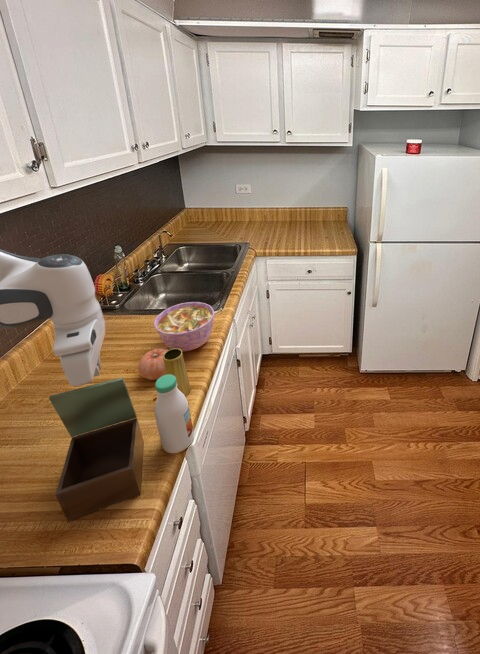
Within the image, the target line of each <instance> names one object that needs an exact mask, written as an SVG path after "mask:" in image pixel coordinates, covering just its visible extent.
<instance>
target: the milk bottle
mask: <svg viewBox="0 0 480 654" xmlns="http://www.w3.org/2000/svg"><path fill="white" fill-rule="evenodd" d="M154 387H155V390H156V393H157V398H156V401H155V404H154V418H155V423H156V427H157V432H158V435H159V439H160V443H161V447H162V449H163V450H164V451H165V452H166V453H169V454H178V453H181V452H183V451H185V450H186V449H188V447H189V446H190V445H191V444H192V442H193V440H194V437H195V433H194V426H193V421H192V415H191V411H190V406H189V403H188V399H187V396H184V394H183V393H182V392H181V391H180V390H179V389H178V388H177V380H176V377H175V376H174V375H164V376H162V377H160V378H159V379H156V381H155V383H154Z"/></svg>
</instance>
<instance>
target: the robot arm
mask: <svg viewBox="0 0 480 654" xmlns="http://www.w3.org/2000/svg"><path fill="white" fill-rule="evenodd" d="M49 319H50V320H51V321H52V324H53V327H54V328H53V333H54V340H53V347H52V351H53V355H54V356H55V357H59V361H60V365H61V368H62V371H63V373H64V376H65V378H66V379H67V381H68V383H69V385H70V386H72V387H75V388H76V387H80V386H85V385H87V384H91V383H92V382H93V381H94V378H95V377H99V376H100V374H101V368H102V363H101V351H102V347H103V343H104V339H105V336H106V321H105V317H104V314H103V311H102V307H101V304H100V302H99V301H98V300H97V298H96V287H95V284H94V280H93V279H92V275H91V273H90V271H89V268H88V266H87V264H86V263H85V262H84V261H83V259H81V258H80V257H79V256H76V255H73V254H63V253H61V254H53V255H47V256H45V257H42V258H38V257H30V256H25V255H19V254H16V253H12V252H10V251H7V250H4V249H1V248H0V328H3V329H11V330H12V329H22V328H26V327H29V326H32V325H37V324H39V323H42V322H45V321H47V320H49Z"/></svg>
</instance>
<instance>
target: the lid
mask: <svg viewBox="0 0 480 654" xmlns="http://www.w3.org/2000/svg"><path fill="white" fill-rule="evenodd" d="M48 399H49V401H50V403H51V404H52V406H53V408H54V410H55V412H56V413H57V415H58V416H59V419H60V420H61V422H62V423H63V425H64V427H65V429H66V431H67V432H68V433H69V436H70V437H71V438H72V437H75V436H78V435H81V434H84V433H88V432H91V431H95V430H98V429H101V428H105V427H108V426H111V425H115V424H118V423H121V422H125V421H128V420H131V419H135V418H137V419H138V415H137V411H136V408H135V406H134V404H133V401H132V398H131V396H130V393H129V390H128V386H127V385H126V382H125V379H124V377H118V378H115V379H111V380H107V381H103V382H99V383H95V384H91V385H87V386H84V387H83V386H82V387H79V388H75V389H72V390H68V391H64V392H59V393H56V394H51V395H49V397H48Z"/></svg>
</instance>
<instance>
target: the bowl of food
mask: <svg viewBox="0 0 480 654" xmlns="http://www.w3.org/2000/svg"><path fill="white" fill-rule="evenodd" d="M214 318H215V311H214V308H213V307H212V306H211V305H210V304H207V303H205V302H201V301H189V302H188V301H187V302H181V303H178V304H175V305H172V306H170V307H167V308H166V309H164V310H163V311H162V312H160V313H158V315H157V317H156V318H155V319H154V322H153V326H154V328H155V330H156V332H157V333H158V335H159V337H160V339H161V340H162V342H163V344H164V345H165V347H166V348H168V349H169V350H170V349H173V348H178V349H181V350H182V352H190V351H193V350H196V349H198V348H200V347H201V346H203V345H205V343H206V342H207V341H208V340H209V339H210V337H211V334H212V331H213V327H214Z"/></svg>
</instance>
